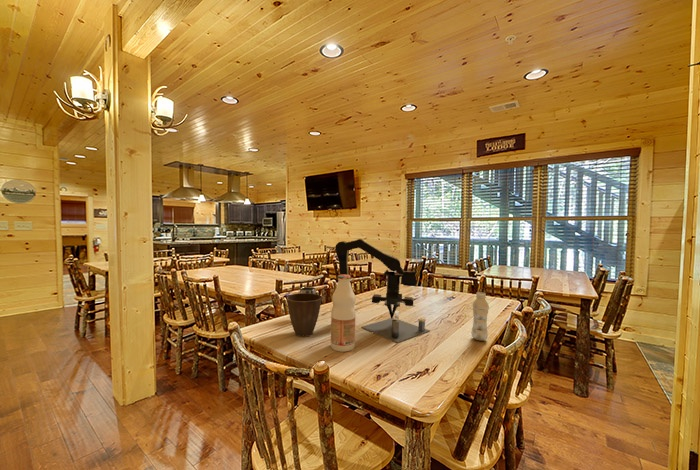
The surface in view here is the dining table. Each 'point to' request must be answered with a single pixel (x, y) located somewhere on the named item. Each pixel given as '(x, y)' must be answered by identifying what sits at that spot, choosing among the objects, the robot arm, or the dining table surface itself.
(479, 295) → the plastic bottle
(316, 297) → the plant pot
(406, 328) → the mat
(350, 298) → the fruit juice
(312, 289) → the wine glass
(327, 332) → the dining table surface
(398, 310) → the gate
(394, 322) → the hinge post
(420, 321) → the post
